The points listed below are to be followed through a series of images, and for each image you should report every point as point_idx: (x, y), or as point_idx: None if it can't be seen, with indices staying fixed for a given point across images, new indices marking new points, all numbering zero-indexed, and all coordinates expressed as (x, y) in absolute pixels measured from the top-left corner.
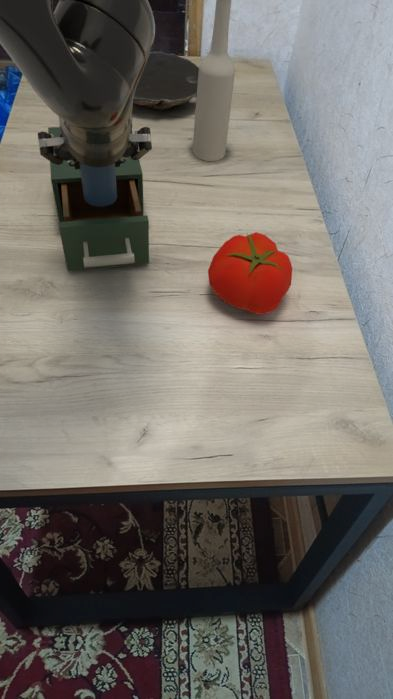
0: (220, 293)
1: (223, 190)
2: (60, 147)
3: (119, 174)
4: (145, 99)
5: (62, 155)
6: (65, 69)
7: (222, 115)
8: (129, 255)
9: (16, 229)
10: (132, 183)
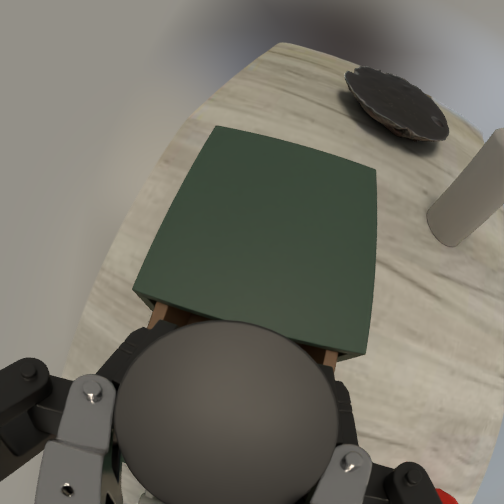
0: None
1: (449, 313)
2: (39, 407)
3: (309, 339)
4: (387, 118)
5: (52, 429)
6: None
7: (493, 210)
8: None
9: (109, 283)
10: (330, 363)
